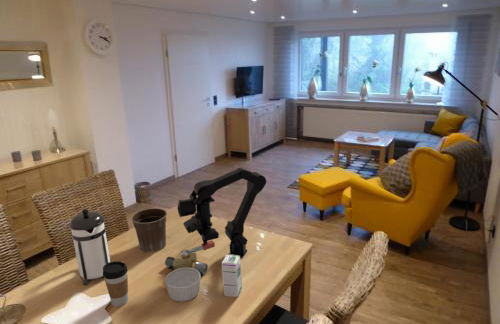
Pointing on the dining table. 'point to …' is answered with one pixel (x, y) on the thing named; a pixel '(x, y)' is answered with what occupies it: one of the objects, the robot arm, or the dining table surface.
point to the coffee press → (90, 244)
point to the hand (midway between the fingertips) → (205, 243)
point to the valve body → (186, 263)
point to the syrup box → (231, 275)
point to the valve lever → (198, 248)
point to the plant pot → (150, 228)
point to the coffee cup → (116, 282)
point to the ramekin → (183, 284)
